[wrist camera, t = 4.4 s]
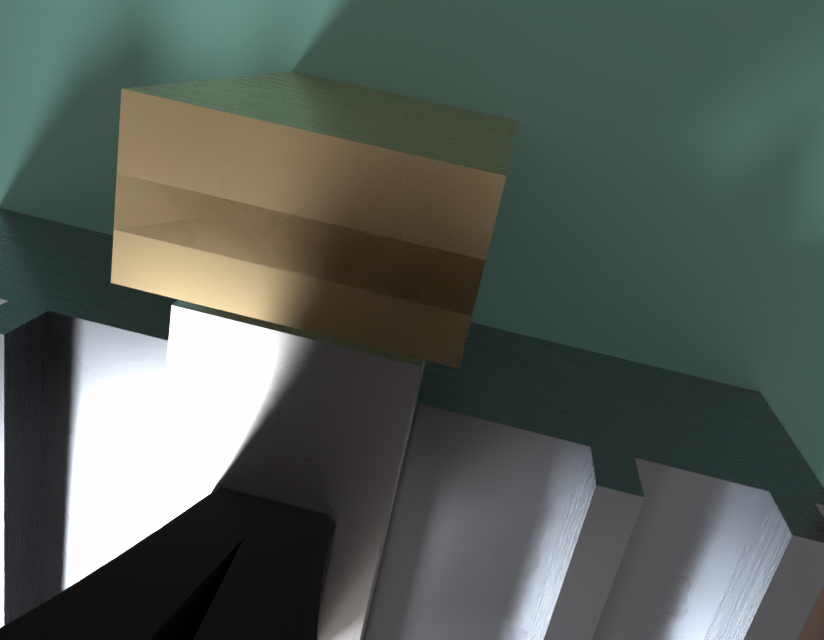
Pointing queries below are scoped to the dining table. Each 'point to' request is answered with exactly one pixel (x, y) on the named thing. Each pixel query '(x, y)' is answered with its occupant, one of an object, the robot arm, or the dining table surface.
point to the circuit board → (517, 153)
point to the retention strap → (289, 435)
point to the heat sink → (399, 333)
